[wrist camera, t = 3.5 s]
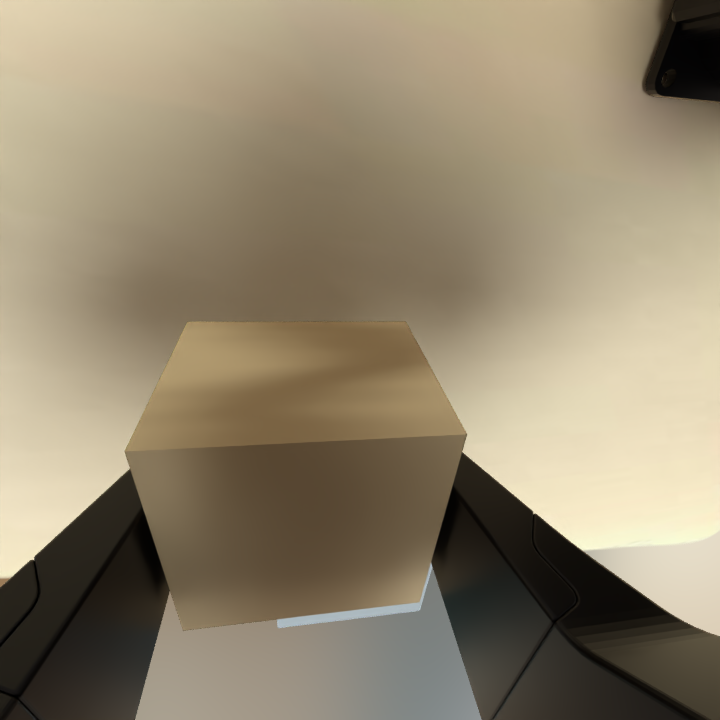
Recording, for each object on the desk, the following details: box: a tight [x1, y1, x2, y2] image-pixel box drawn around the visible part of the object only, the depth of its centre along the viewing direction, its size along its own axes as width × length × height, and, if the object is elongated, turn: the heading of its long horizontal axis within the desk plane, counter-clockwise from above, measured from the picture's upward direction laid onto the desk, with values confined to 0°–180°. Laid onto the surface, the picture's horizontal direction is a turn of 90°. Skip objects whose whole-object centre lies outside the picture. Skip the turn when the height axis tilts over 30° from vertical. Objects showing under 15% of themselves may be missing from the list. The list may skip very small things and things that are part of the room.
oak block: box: [125, 321, 467, 631], centre depth 9 cm, size 5×5×4 cm
